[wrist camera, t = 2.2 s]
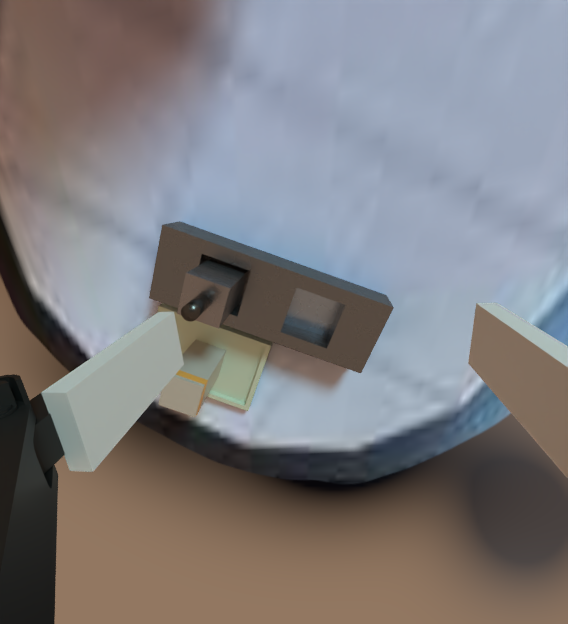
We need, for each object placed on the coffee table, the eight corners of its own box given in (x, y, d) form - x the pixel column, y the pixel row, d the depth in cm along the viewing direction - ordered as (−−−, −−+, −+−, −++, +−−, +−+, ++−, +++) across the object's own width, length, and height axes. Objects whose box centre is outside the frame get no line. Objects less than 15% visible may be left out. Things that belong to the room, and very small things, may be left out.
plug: (188, 366, 41) (158, 404, 33) (195, 338, 39) (165, 372, 32) (218, 376, 41) (195, 418, 33) (226, 350, 39) (204, 386, 32)
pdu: (166, 287, 38) (100, 327, 27) (179, 221, 35) (111, 234, 24) (357, 355, 38) (370, 423, 27) (386, 295, 35) (414, 342, 24)
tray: (149, 369, 42) (145, 374, 41) (163, 302, 39) (158, 305, 38) (249, 405, 42) (247, 411, 41) (272, 341, 39) (271, 346, 38)
